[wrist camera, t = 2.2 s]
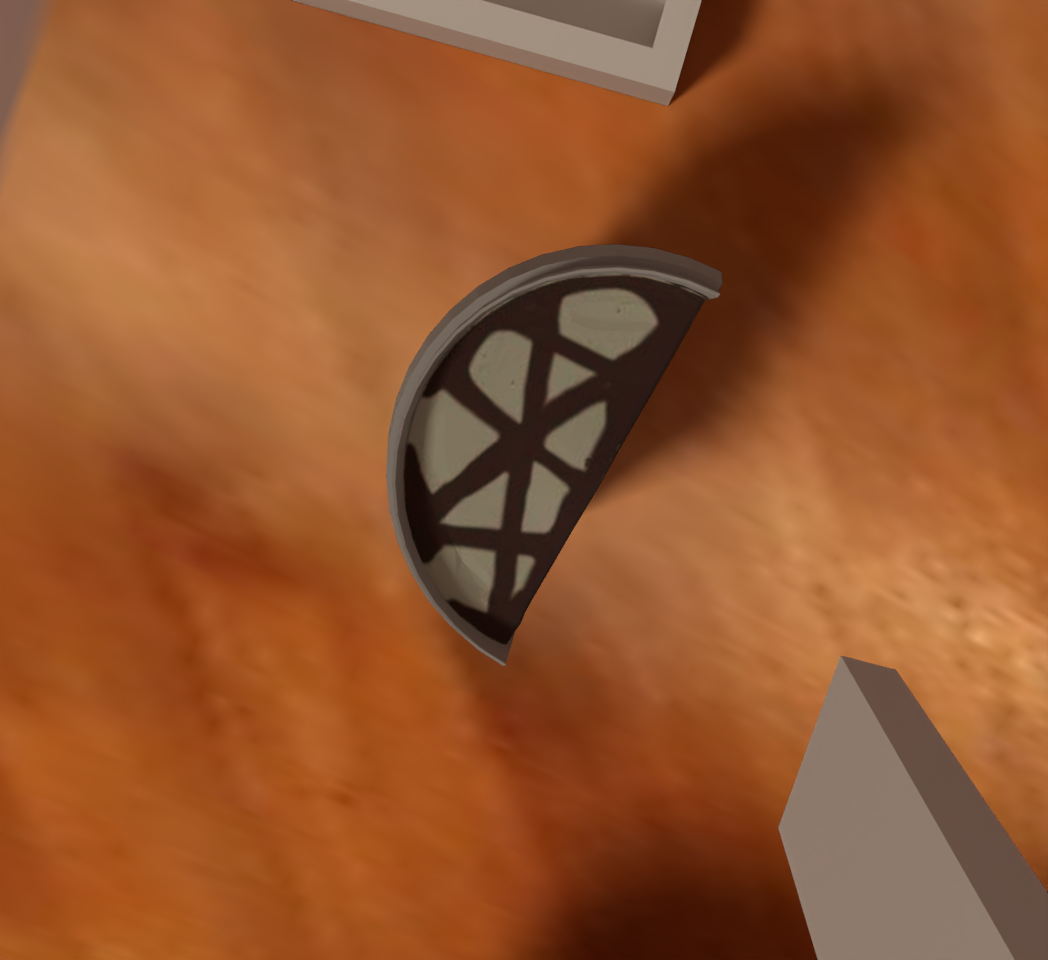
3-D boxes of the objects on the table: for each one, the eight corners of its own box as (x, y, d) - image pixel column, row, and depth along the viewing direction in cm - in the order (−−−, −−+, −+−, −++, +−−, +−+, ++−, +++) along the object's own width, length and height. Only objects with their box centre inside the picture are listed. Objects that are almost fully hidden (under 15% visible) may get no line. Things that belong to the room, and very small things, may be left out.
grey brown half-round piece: (534, 177, 33) (507, 149, 23) (693, 265, 33) (732, 274, 23) (377, 485, 36) (293, 576, 26) (523, 564, 36) (495, 682, 26)
